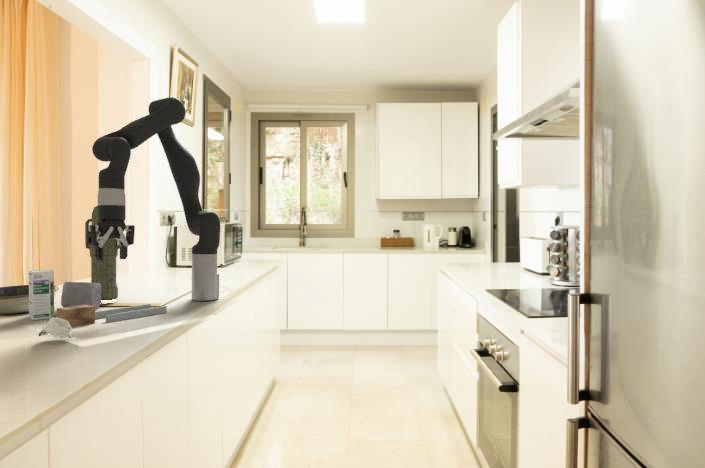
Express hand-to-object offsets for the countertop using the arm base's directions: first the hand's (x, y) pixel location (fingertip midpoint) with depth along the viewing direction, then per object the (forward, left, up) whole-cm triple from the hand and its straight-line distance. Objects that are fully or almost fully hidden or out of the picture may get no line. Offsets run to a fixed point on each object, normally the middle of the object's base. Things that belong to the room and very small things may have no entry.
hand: (111, 259), depth 146 cm
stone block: (-1, -18, -18) cm, 25 cm away
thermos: (-14, -27, -18) cm, 35 cm away
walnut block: (+11, 0, -18) cm, 21 cm away
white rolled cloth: (+22, +11, -18) cm, 30 cm away
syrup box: (+11, -18, -18) cm, 28 cm away
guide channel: (-6, 0, -18) cm, 19 cm away
